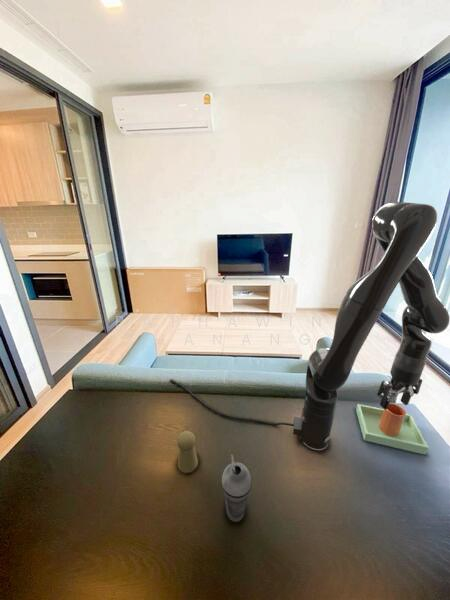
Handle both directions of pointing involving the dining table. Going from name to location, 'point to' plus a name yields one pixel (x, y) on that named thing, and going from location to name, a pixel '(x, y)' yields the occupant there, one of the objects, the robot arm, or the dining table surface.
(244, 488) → the beverage cup
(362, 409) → the tray
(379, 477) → the dining table surface
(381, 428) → the terracotta cup
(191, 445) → the beige pawn figure
